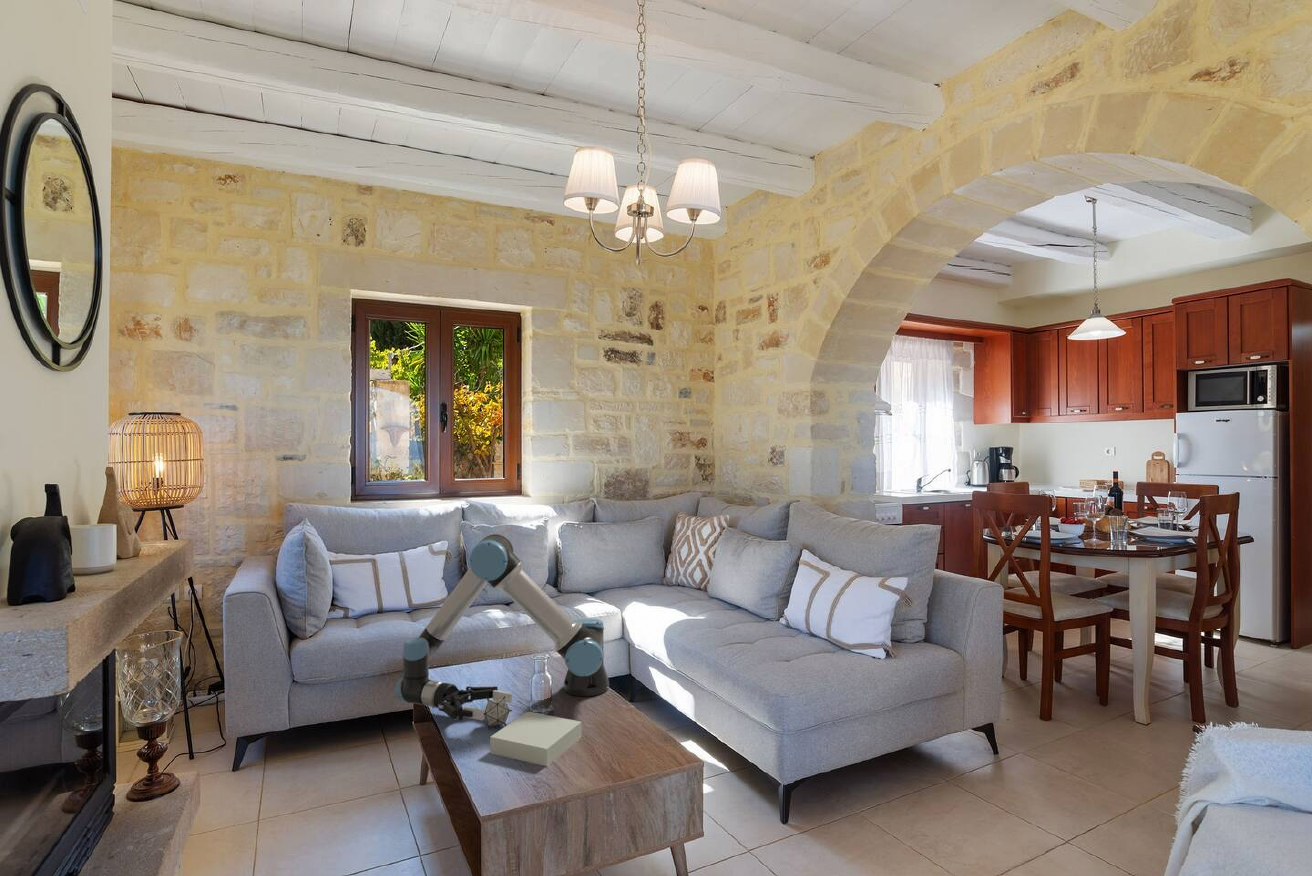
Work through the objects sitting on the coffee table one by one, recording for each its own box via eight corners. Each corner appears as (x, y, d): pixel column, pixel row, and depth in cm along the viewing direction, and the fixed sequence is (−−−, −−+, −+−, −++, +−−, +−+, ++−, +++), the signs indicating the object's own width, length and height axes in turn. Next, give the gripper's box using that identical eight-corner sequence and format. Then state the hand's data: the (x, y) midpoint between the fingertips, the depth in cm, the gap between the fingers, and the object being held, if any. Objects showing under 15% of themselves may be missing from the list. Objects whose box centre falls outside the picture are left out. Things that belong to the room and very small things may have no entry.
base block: (528, 728, 206) (528, 711, 205) (581, 739, 198) (581, 721, 198) (490, 755, 189) (490, 736, 189) (547, 768, 182) (547, 749, 182)
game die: (500, 740, 205) (502, 721, 199) (475, 727, 207) (476, 709, 201) (515, 715, 212) (518, 696, 206) (491, 703, 214) (493, 684, 208)
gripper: (467, 693, 226) (522, 703, 217) (411, 723, 203) (470, 736, 194) (467, 670, 226) (522, 679, 217) (411, 697, 203) (470, 709, 194)
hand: (497, 706), depth 206 cm, fingers open, 13 cm apart
